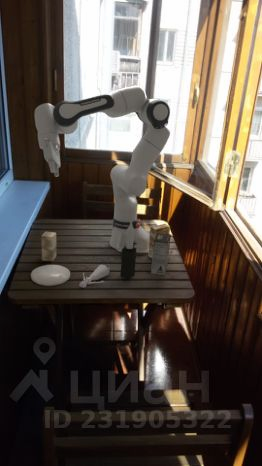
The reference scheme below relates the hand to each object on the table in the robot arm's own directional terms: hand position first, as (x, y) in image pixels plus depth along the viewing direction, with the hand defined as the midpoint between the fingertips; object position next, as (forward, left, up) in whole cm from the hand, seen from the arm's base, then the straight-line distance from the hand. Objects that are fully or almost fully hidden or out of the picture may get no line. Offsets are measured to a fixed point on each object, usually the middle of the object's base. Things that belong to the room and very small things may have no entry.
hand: (55, 174), depth 165 cm
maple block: (+2, +4, -38) cm, 38 cm away
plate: (-4, +19, -38) cm, 43 cm away
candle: (-35, +10, -38) cm, 53 cm away
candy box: (-46, -13, -38) cm, 62 cm away
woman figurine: (-23, +17, -39) cm, 48 cm away
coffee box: (-48, +1, -38) cm, 62 cm away
